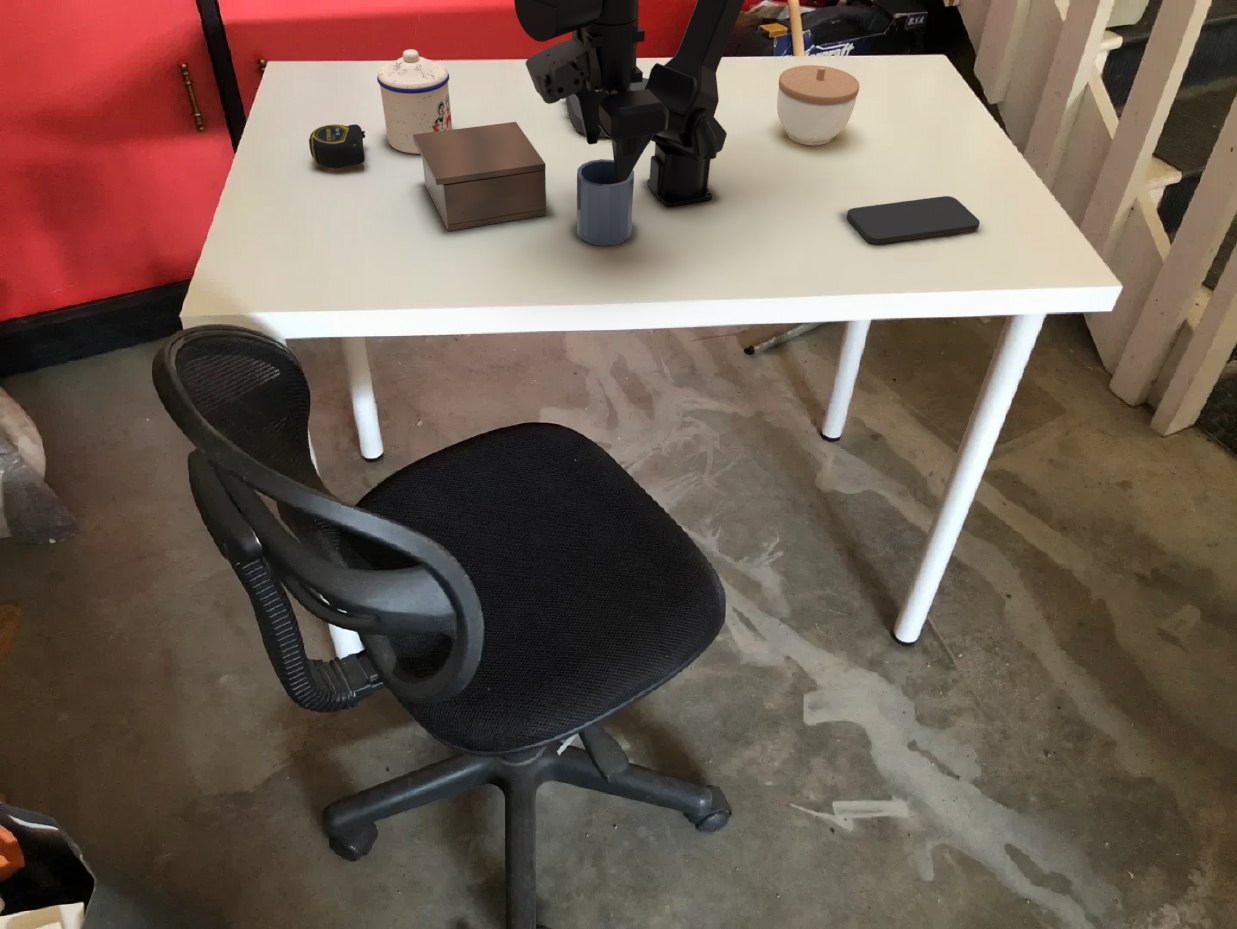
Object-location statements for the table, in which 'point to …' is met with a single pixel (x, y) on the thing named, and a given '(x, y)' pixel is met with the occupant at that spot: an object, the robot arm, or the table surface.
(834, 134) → the trinket box
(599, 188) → the cup
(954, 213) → the phone
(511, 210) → the box
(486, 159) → the box lid
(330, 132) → the tape measure
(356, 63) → the table surface
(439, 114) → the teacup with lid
